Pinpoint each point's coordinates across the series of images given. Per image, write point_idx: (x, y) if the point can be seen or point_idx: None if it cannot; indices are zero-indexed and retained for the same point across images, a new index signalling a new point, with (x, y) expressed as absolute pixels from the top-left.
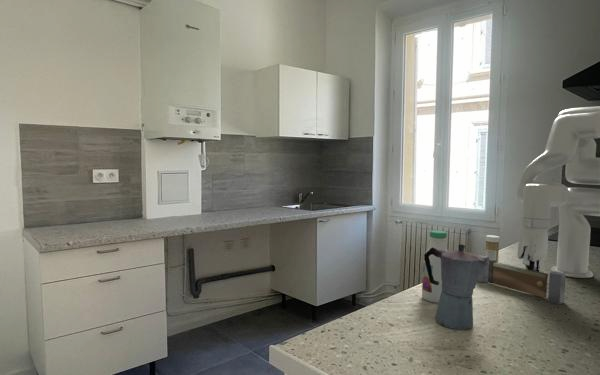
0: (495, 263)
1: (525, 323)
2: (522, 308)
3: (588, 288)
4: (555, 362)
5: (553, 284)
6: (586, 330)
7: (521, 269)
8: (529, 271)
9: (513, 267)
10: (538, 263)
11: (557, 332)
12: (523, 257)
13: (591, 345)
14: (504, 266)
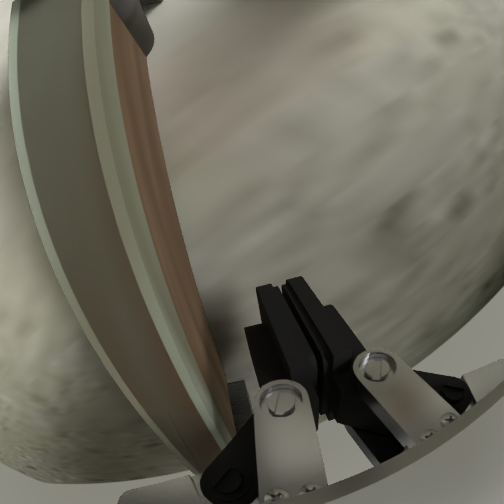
0: (10, 35)
1: (7, 423)
2: (37, 389)
3: (482, 299)
4: (8, 463)
5: None
6: (118, 476)
7: (141, 412)
8: (176, 450)
9: (91, 340)
10: (369, 458)
11: (52, 458)
12: (339, 486)
13: (81, 482)
14: (37, 191)
